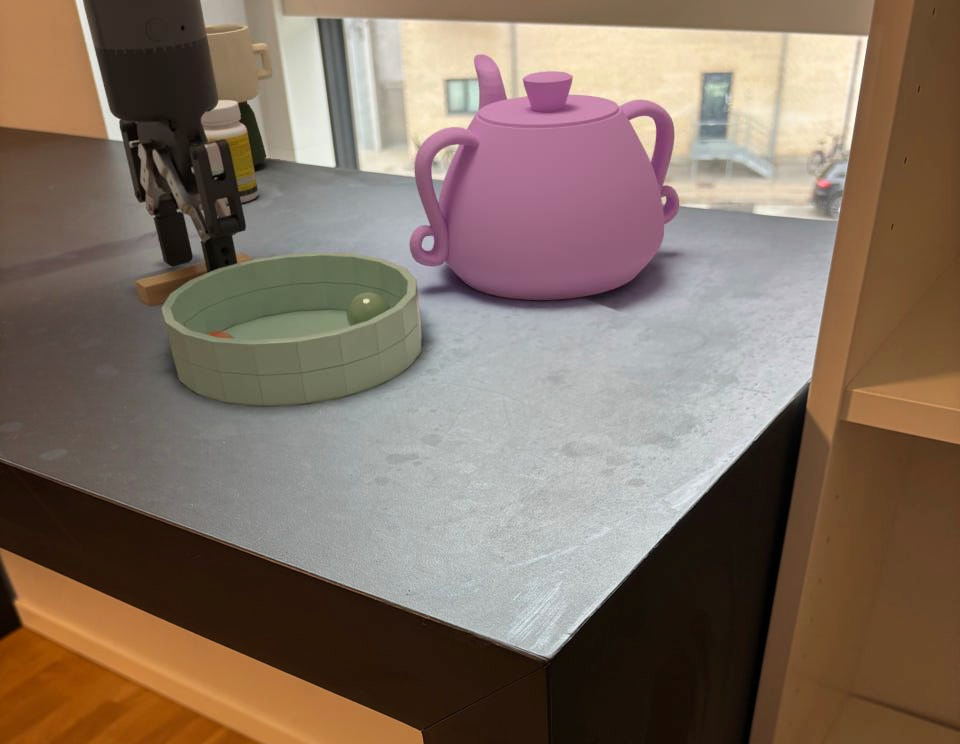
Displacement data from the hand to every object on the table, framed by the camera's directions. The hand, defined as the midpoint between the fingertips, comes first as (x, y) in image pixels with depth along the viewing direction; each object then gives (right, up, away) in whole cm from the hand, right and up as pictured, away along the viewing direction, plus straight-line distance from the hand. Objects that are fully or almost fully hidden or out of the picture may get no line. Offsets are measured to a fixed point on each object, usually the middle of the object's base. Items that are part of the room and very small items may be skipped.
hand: (202, 275), depth 79 cm
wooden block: (0, -1, 0) cm, 1 cm away
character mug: (-5, +23, +32) cm, 39 cm away
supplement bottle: (-3, +15, +22) cm, 27 cm away
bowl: (+10, -10, -11) cm, 17 cm away
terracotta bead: (+6, -11, -15) cm, 20 cm away
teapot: (+26, +1, +2) cm, 26 cm away
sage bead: (+13, -6, -11) cm, 18 cm away
